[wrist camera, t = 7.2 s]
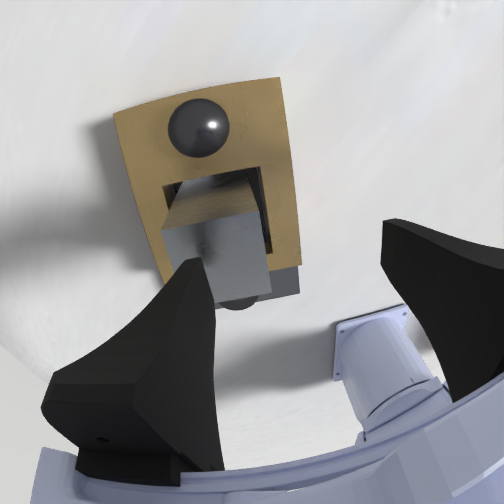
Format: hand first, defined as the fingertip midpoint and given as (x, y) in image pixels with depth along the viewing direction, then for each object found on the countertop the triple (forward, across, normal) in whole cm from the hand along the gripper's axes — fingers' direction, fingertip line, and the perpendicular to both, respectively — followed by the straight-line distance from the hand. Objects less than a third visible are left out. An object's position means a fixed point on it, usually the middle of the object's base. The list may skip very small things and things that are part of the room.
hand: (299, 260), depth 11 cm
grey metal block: (+9, +3, 0) cm, 10 cm away
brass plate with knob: (+9, +3, 0) cm, 10 cm away
